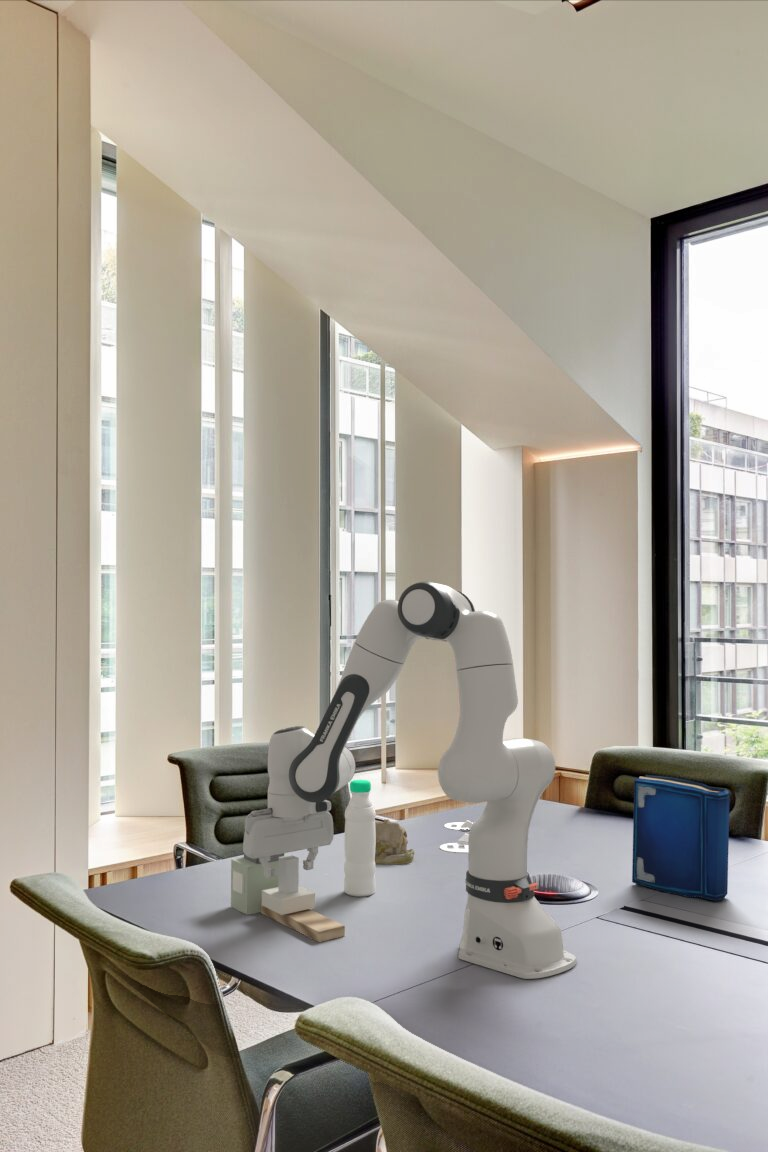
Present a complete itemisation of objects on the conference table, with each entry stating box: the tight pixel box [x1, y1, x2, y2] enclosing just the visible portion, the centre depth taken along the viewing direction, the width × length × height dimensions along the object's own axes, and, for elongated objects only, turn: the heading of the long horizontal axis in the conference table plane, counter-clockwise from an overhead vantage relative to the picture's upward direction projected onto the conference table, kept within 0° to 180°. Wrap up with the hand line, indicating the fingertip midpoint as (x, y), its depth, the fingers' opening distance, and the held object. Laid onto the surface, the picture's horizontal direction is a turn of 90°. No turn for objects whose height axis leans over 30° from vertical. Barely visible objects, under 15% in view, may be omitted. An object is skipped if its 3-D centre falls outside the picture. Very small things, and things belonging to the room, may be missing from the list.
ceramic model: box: [375, 818, 415, 865], centre depth 243 cm, size 14×11×10 cm
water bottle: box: [343, 779, 377, 898], centre depth 213 cm, size 7×7×25 cm
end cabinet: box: [230, 853, 290, 916], centre depth 203 cm, size 7×12×12 cm, turn 128°
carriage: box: [262, 854, 316, 915], centre depth 196 cm, size 8×8×10 cm
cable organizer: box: [439, 819, 474, 854], centre depth 265 cm, size 35×24×3 cm
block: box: [260, 903, 346, 943], centre depth 191 cm, size 22×6×2 cm, turn 38°
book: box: [631, 774, 731, 902], centre depth 215 cm, size 22×7×25 cm, turn 47°
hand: (289, 873), depth 195 cm, fingers open, 8 cm apart
